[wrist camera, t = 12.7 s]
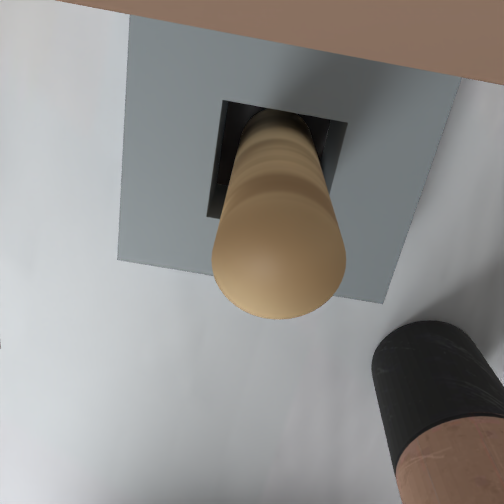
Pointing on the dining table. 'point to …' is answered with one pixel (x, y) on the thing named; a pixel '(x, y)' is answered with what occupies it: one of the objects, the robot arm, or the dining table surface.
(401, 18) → the wooden side table
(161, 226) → the socket board
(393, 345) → the travel mug
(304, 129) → the oak peg
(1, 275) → the dining table surface
